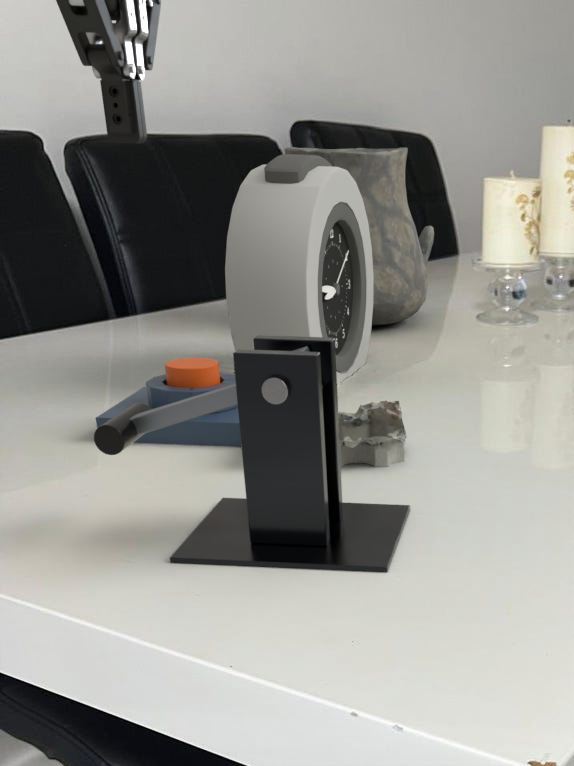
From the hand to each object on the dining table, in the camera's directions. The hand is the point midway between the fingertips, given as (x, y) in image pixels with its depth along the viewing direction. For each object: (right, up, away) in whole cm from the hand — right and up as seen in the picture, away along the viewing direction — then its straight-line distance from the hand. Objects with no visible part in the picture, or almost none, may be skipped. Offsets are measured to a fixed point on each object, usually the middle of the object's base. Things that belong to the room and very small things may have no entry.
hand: (128, 142), depth 68 cm
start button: (+2, -14, +9) cm, 17 cm away
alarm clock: (+7, -8, +32) cm, 33 cm away
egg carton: (+13, -21, +6) cm, 26 cm away
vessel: (+8, +6, +58) cm, 59 cm away
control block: (+2, -18, +11) cm, 21 cm away
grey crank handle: (+9, -22, -12) cm, 27 cm away
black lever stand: (+13, -28, -9) cm, 33 cm away
